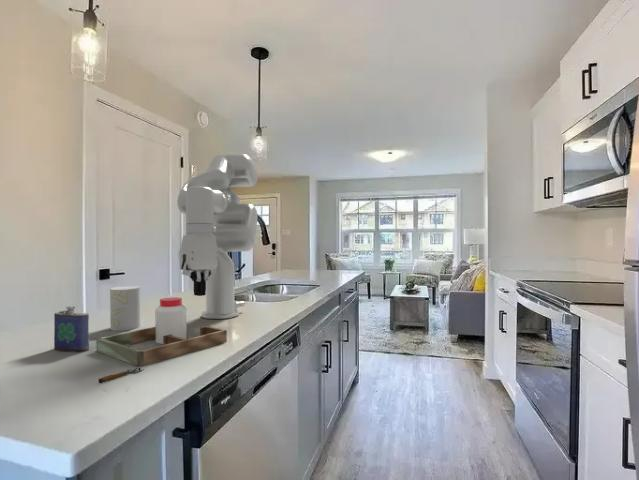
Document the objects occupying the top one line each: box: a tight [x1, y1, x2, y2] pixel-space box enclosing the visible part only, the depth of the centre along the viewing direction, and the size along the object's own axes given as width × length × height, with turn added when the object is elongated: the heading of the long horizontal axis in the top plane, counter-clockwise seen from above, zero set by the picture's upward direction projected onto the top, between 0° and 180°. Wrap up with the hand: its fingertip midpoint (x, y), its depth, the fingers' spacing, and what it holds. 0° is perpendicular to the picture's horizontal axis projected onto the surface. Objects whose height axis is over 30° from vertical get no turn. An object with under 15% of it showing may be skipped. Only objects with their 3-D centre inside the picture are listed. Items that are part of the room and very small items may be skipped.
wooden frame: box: [95, 325, 228, 367], centre depth 100 cm, size 24×19×3 cm
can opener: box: [98, 366, 145, 384], centre depth 79 cm, size 9×2×1 cm, turn 142°
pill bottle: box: [154, 296, 188, 345], centre depth 106 cm, size 8×8×11 cm
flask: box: [53, 305, 90, 353], centre depth 97 cm, size 9×3×11 cm, turn 78°
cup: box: [109, 285, 141, 332], centre depth 120 cm, size 8×8×12 cm
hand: (199, 295), depth 113 cm, fingers closed
